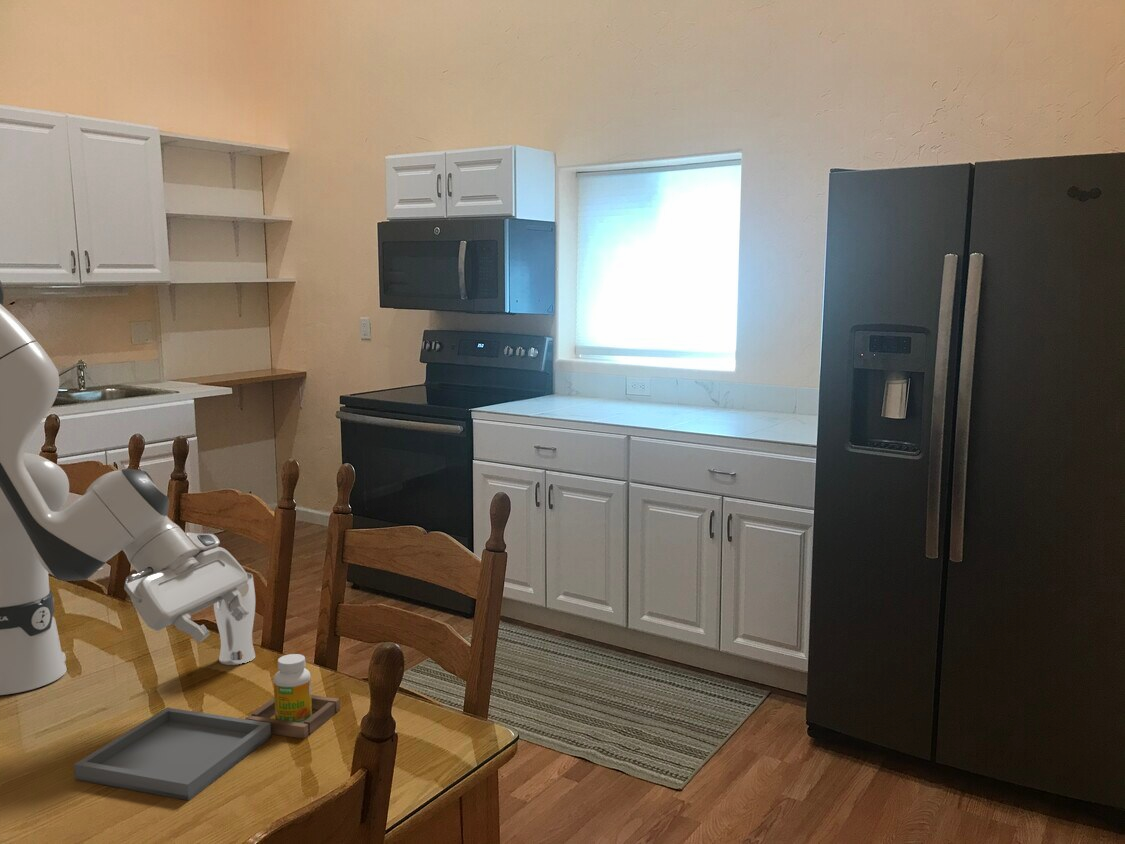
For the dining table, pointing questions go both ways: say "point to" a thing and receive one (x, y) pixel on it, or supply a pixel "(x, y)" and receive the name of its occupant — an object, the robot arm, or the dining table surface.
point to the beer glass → (236, 628)
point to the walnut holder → (294, 729)
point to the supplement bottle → (292, 689)
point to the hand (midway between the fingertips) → (224, 627)
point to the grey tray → (173, 753)
